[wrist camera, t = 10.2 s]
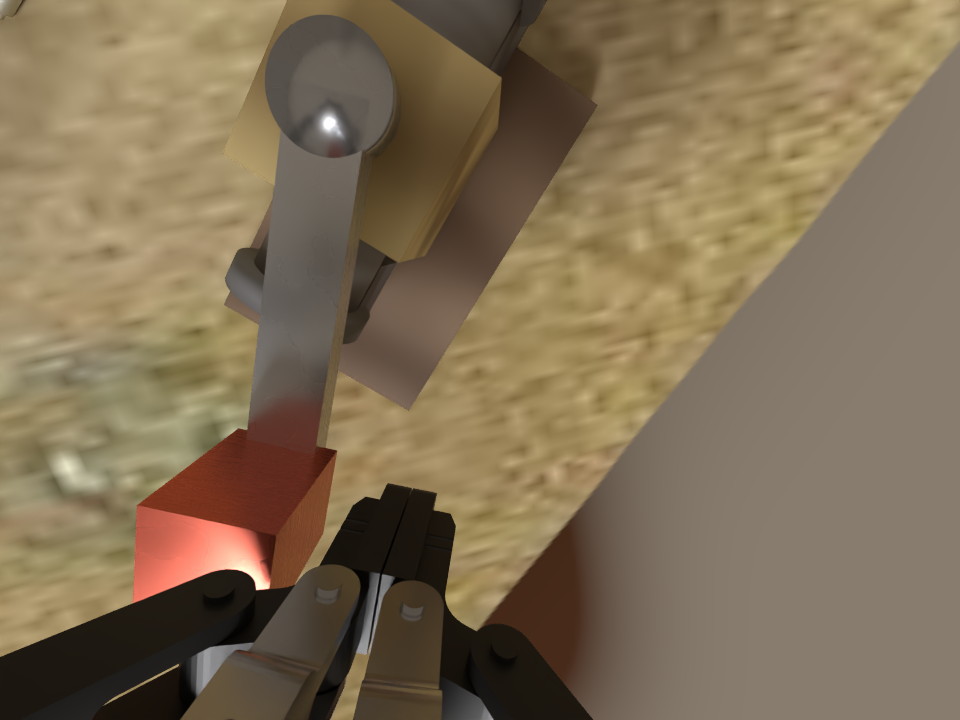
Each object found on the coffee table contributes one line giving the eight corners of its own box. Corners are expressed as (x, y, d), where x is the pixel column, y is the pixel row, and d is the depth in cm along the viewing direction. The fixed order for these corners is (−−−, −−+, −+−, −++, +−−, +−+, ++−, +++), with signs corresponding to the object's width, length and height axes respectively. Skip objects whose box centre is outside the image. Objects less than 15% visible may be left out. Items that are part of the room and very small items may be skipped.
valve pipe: (415, 396, 24) (370, 493, 15) (246, 299, 23) (84, 339, 14) (600, 96, 20) (692, -21, 11) (408, -41, 19) (332, -301, 10)
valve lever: (295, 23, 11) (163, -122, 7) (411, 54, 11) (359, -69, 7) (240, 513, 15) (131, 632, 10) (328, 532, 15) (259, 658, 11)
